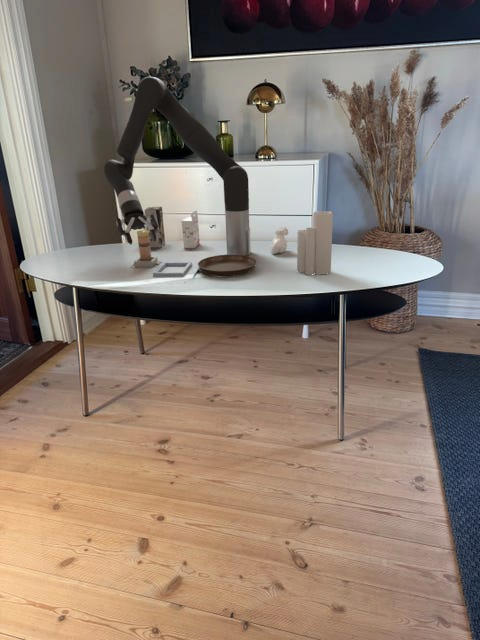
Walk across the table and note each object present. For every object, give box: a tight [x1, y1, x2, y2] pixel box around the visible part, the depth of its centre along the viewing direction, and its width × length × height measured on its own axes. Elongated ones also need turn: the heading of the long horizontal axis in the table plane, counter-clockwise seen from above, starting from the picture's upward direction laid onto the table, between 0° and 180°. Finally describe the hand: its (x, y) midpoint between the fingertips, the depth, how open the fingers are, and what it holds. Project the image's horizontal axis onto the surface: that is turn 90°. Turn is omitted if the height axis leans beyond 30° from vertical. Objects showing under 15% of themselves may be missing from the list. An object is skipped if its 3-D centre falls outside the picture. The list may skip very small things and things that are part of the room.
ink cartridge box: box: [180, 209, 201, 249], centre depth 204 cm, size 9×5×15 cm, turn 168°
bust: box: [269, 226, 289, 255], centre depth 189 cm, size 12×8×11 cm
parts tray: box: [152, 261, 193, 278], centre depth 165 cm, size 10×14×3 cm
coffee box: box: [143, 206, 166, 249], centre depth 207 cm, size 9×6×16 cm
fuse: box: [136, 229, 152, 261], centre depth 172 cm, size 4×4×12 cm
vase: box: [296, 210, 334, 276], centre depth 159 cm, size 11×7×20 cm, turn 83°
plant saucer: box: [197, 254, 258, 278], centre depth 168 cm, size 21×21×3 cm
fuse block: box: [129, 256, 163, 269], centre depth 174 cm, size 10×8×4 cm
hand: (142, 241), depth 172 cm, fingers open, 8 cm apart
